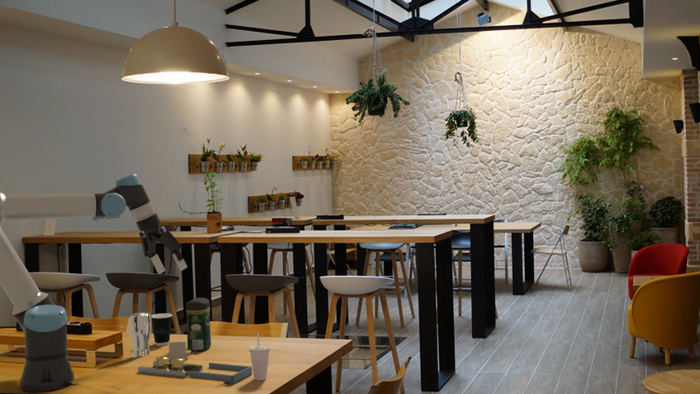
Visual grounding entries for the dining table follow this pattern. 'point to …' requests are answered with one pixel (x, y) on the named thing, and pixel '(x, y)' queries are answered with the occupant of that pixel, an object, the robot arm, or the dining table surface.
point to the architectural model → (177, 350)
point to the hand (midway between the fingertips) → (172, 270)
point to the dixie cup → (161, 328)
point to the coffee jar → (198, 324)
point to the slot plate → (170, 370)
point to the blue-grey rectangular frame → (231, 379)
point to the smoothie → (259, 360)
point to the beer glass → (140, 333)
